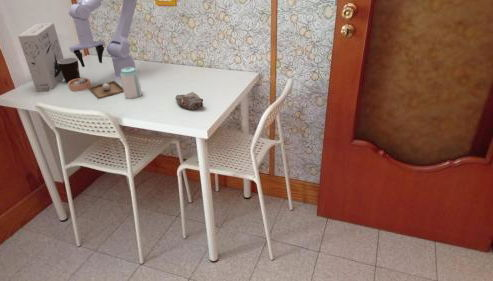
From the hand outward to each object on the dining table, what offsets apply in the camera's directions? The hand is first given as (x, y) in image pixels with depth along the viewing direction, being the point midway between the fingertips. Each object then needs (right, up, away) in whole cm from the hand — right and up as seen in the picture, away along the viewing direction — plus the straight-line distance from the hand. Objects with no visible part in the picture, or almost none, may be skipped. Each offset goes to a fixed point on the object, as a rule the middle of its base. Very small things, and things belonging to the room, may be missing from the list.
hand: (92, 64), depth 169 cm
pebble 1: (-6, -10, +1) cm, 12 cm away
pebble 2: (-6, -9, +3) cm, 11 cm away
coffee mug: (-13, -5, +12) cm, 18 cm away
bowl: (-6, -10, +3) cm, 12 cm away
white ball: (+7, -12, -2) cm, 14 cm away
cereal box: (-22, -7, +10) cm, 26 cm away
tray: (+7, -12, -2) cm, 14 cm away
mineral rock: (+46, -20, -16) cm, 52 cm away
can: (+20, -15, -7) cm, 26 cm away
